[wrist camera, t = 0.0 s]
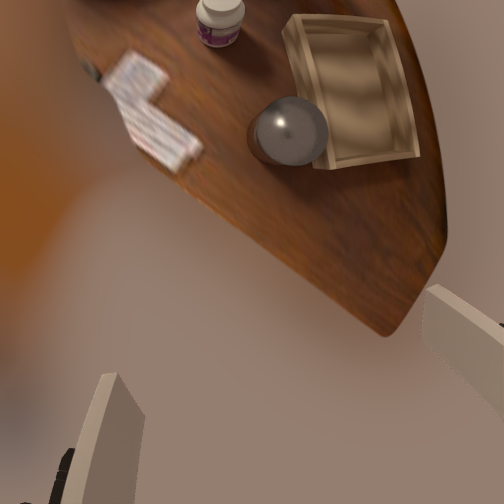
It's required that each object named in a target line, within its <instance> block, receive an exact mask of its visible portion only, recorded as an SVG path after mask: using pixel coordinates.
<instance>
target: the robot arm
mask: <svg viewBox="0 0 504 504" xmlns="http://www.w3.org/2000/svg"><path fill="white" fill-rule="evenodd" d="M421 340H422V341H423V342H424V343H425V344H426V345H427V346H428V347H429V348H430V349H432V351H434V352H435V353H436V354H437V355H438V356H439V357H440V358H441V359H442V360H443V361H444V362H445V363H446V364H447V365H448V366H449V367H450V368H451V369H452V370H453V371H454V372H455V373H456V374H457V375H458V376H459V377H460V378H461V379H462V380H463V381H464V382H465V383H466V384H468V386H469V387H471V389H472V390H473V391H474V392H475V393H476V394H478V396H479V397H480V398H481V399H482V400H483V401H484V402H485V403H486V404H487V405H488V406H489V407H490V408H491V409H492V410H493V411H494V412H495V413H496V414H497V416H498V417H499V418H500V419H501V420H502V421H503V422H504V324H502V323H500V324H497V323H496V322H494V321H493V320H492V319H490V318H488V317H487V316H485V315H484V314H483V313H481V312H480V311H478V310H477V309H475V308H474V307H472V306H471V305H469V304H468V303H467V302H465V301H463V300H462V299H460V298H459V297H457V296H456V295H454V294H453V293H451V292H450V291H448V290H447V289H445V288H443V287H442V286H440V285H439V284H436V285H434V286H431V287H429V288H427V289H425V301H424V313H423V322H422V331H421ZM144 421H145V415H144V414H143V412H142V411H141V409H140V408H139V406H138V405H137V403H136V402H135V400H134V399H133V397H132V395H131V394H130V392H129V391H128V389H127V387H126V386H125V384H124V382H123V381H122V379H121V377H120V376H119V374H118V372H117V373H110V374H102V376H101V378H100V381H99V383H98V386H97V389H96V391H95V394H94V397H93V399H92V402H91V405H90V407H89V410H88V413H87V416H86V419H85V422H84V424H83V427H82V430H81V433H80V436H79V440H78V443H77V446H76V449H74V448H69V449H68V450H67V452H66V453H65V454H64V456H63V457H62V459H61V462H60V465H59V469H58V470H59V472H57V475H56V481H55V482H54V486H53V489H52V493H51V496H50V500H49V504H134V500H135V489H136V480H137V472H138V463H139V456H140V448H141V441H142V435H143V428H144ZM20 504H31V503H26V502H24V503H20Z"/></svg>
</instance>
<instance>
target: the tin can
mask: <svg viewBox="0 0 504 504" xmlns="http://www.w3.org/2000/svg"><path fill="white" fill-rule="evenodd" d="M327 141H328V125H327V121H326V119H325V117H324V115H323V113H322V112H321V111H320V109H319V108H318V107H317V106H316V105H314V104H313V103H312V102H310V101H308V100H306V99H304V98H300V97H293V96H290V97H283V98H280V99H278V100H276V101H274V102H273V103H271V104H270V105H269V106H268V107H267V108H266V109H264V110H263V111H262V112H261V113H260V114H259V115H258V116H257V117H256V118H255V119H254V120H253V121H252V122H251V124H250V126H249V128H248V131H247V143H248V146H249V148H250V150H251V152H252V153H253V155H254V156H255V157H256V158H258V159H259V160H260V161H262V162H264V163H267V164H272V165H290V166H300V165H305V164H308V163H310V162H312V161H314V160H315V159H317V158H318V157H319V156H320V155H321V154H322V152H323V151H324V149H325V147H326V145H327Z"/></svg>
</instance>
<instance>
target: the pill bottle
mask: <svg viewBox="0 0 504 504" xmlns="http://www.w3.org/2000/svg"><path fill="white" fill-rule="evenodd" d="M244 14H245V6H244V3H243V1H242V0H200V1H199V3H198V5H197V8H196V18H197V31H198V36H199V38H200V40H201V41H202V42H203V43H204V44H206V45H208V46H211V47H224V46H227V45H229V44H231V43H233V42H234V41H235V40H236V38H237V37H238V34H239V31H240V28H241V24H242V21H243V18H244Z"/></svg>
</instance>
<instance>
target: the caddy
mask: <svg viewBox="0 0 504 504" xmlns="http://www.w3.org/2000/svg"><path fill="white" fill-rule="evenodd" d="M281 33H282V37H283V40H284V44H285V47H286V51H287V55H288V58H289V62H290V66H291V70H292V74H293V78H294V82H295V86H296V90H297V94H298V97H300V98H304V99H306V100H308V101H310V102H312V103H313V104H314V105H316V106H317V107H318V108H319V109H320V111H321V112H322V113H323V115H324V117H325V119H326V121H327V125H328V141H327V145H326V147H325V149H324V151H323V152H322V154H321V155H320V156H319V157H318V158H317V159H315V160H314V161H312V166H313V168H316V169H327V170H333V169H338V168H344V167H350V166H356V165H363V164H369V163H376V162H383V161H390V160H397V159H405V158H413V157H420V151H419V144H418V138H417V131H416V126H415V120H414V115H413V110H412V105H411V100H410V95H409V91H408V87H407V83H406V79H405V75H404V71H403V67H402V64H401V60H400V57H399V53H398V50H397V47H396V44H395V41H394V38H393V35H392V32H391V29H390V26H389V23H388V20H382V19H375V18H367V17H357V16H346V15H329V14H293V15H292V16H291V18H290V19H289V21H288V22H287V24H286V26H285V27H284V29H283V30H282V32H281Z"/></svg>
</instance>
